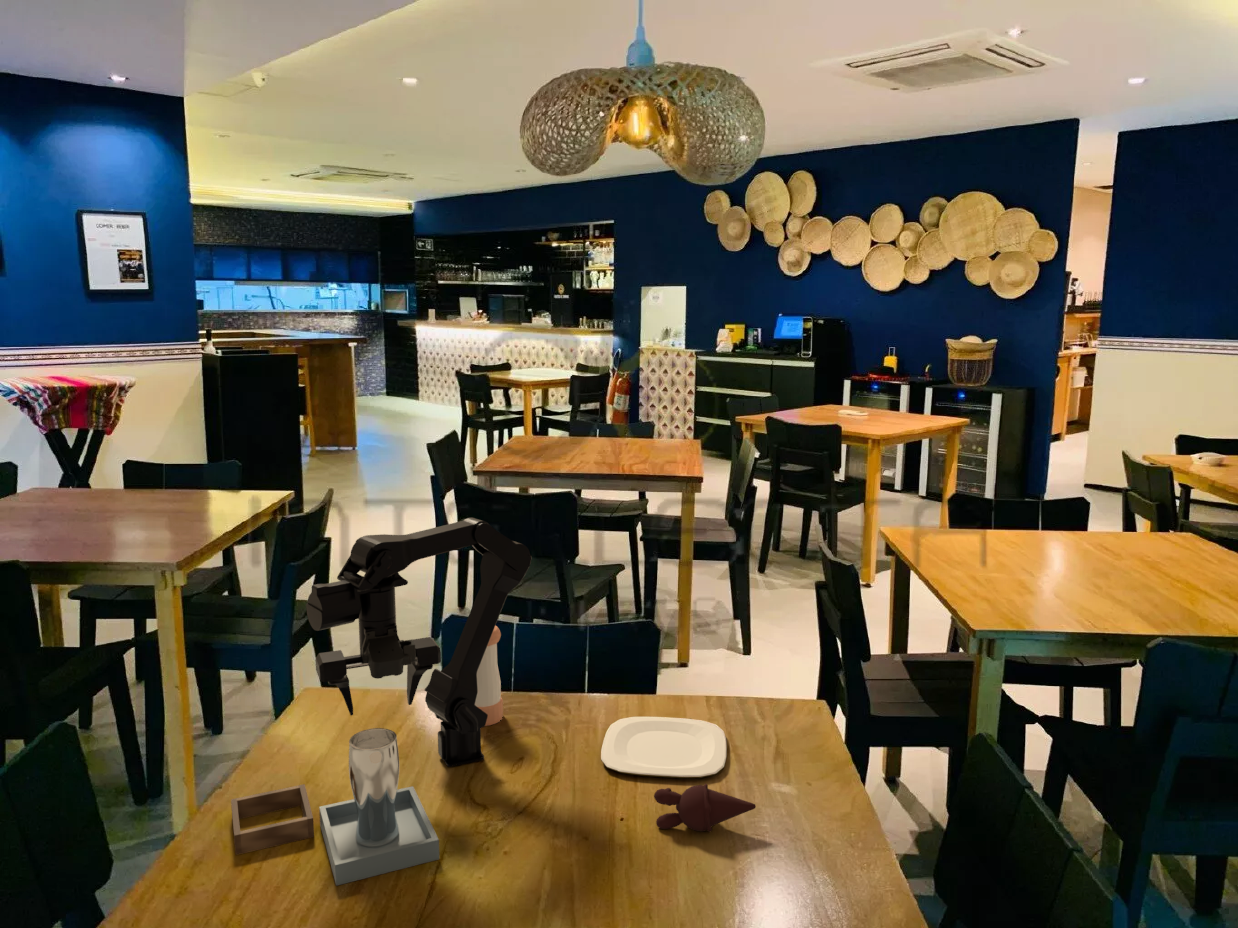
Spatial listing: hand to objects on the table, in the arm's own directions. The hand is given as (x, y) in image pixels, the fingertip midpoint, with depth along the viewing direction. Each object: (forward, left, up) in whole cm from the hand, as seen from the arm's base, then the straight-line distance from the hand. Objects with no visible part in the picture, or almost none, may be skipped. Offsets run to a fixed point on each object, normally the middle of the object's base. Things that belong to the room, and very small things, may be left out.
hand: (380, 709), depth 144 cm
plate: (-47, +9, -14) cm, 50 cm away
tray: (+4, +16, -13) cm, 21 cm away
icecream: (-41, +33, -13) cm, 54 cm away
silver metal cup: (+4, +16, -12) cm, 21 cm away
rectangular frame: (+17, +6, -13) cm, 22 cm away
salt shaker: (-22, -17, -13) cm, 31 cm away
